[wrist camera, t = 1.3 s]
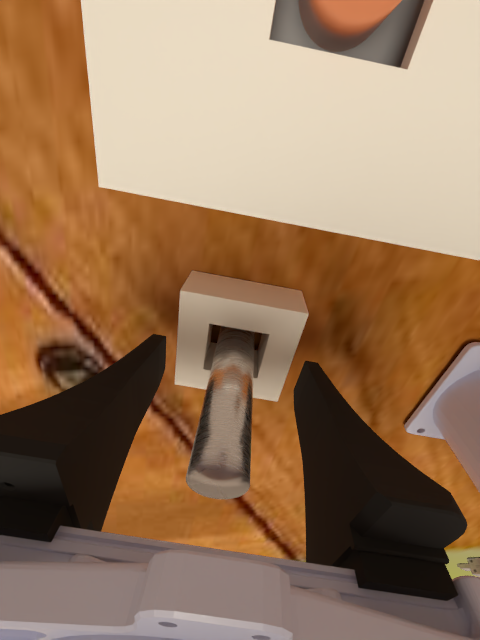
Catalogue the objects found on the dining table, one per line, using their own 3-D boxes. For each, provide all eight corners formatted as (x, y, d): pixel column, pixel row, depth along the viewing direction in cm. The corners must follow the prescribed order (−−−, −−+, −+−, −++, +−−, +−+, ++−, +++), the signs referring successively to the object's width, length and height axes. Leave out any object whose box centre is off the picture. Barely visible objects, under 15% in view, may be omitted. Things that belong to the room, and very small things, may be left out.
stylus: (257, 315, 16) (255, 470, 8) (251, 342, 17) (243, 502, 9) (223, 309, 15) (188, 459, 8) (219, 336, 17) (183, 493, 9)
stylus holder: (301, 290, 15) (308, 313, 12) (275, 372, 18) (277, 401, 16) (192, 270, 14) (180, 290, 12) (185, 356, 18) (174, 384, 15)
